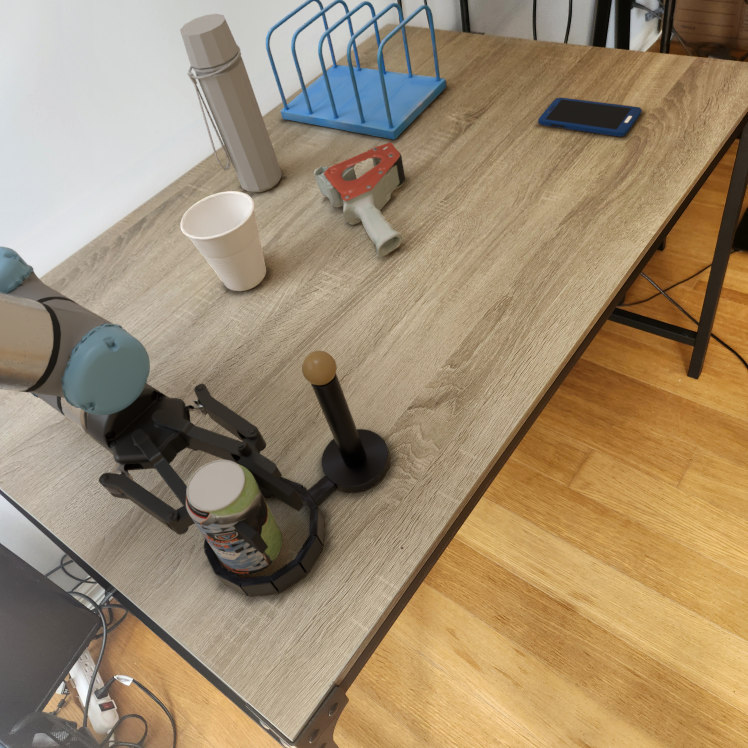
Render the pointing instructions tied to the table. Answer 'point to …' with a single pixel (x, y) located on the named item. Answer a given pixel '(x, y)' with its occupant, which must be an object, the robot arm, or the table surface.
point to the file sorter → (360, 82)
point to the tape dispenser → (366, 192)
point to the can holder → (342, 471)
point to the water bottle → (230, 102)
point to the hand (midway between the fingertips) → (278, 521)
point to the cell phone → (590, 116)
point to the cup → (227, 238)
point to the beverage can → (232, 515)
